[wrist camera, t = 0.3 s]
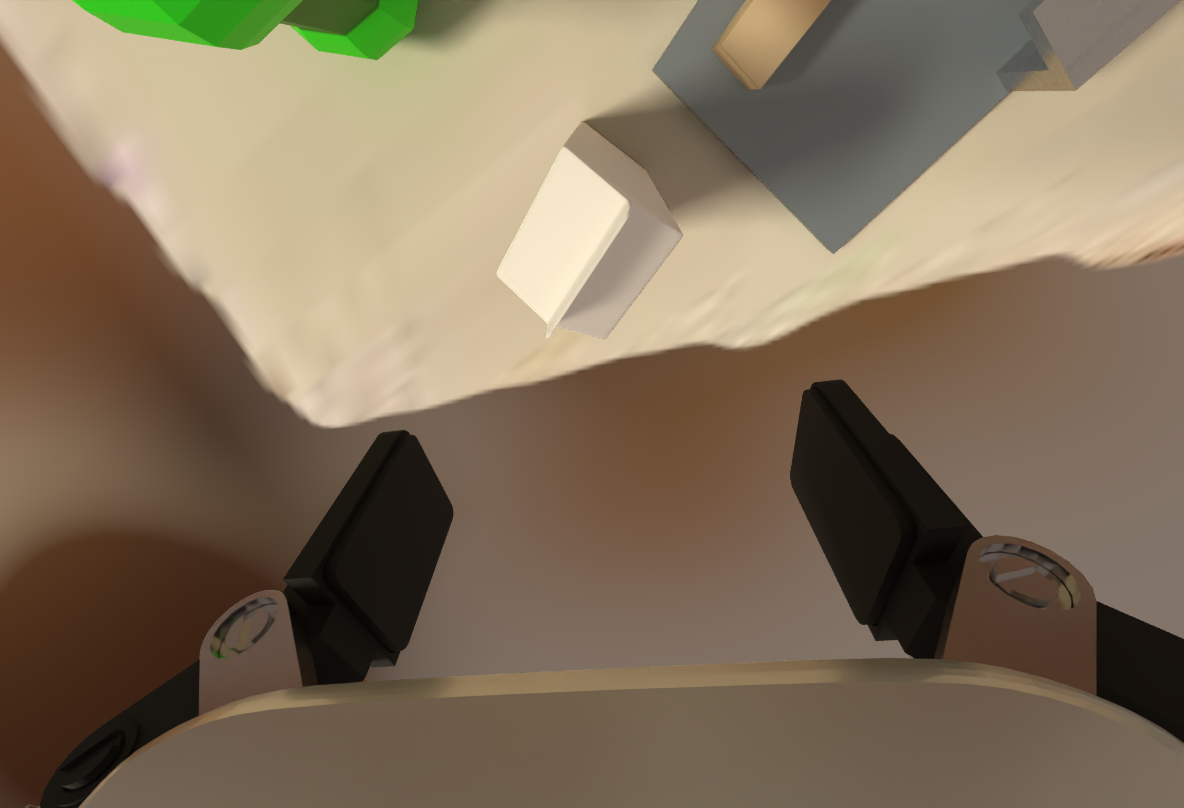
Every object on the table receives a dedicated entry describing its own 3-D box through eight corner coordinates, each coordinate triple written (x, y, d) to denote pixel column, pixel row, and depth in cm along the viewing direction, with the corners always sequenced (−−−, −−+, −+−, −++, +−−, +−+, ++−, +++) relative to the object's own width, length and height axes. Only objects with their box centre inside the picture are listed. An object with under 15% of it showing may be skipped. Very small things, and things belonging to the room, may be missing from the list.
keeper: (1036, -62, 25) (1148, -102, 20) (1075, 14, 27) (1185, -5, 22) (952, 27, 28) (1032, 11, 23) (993, 91, 30) (1075, 90, 25)
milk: (646, 170, 33) (703, 258, 15) (603, 237, 36) (608, 377, 18) (580, 118, 31) (557, 151, 13) (540, 194, 34) (478, 303, 16)
